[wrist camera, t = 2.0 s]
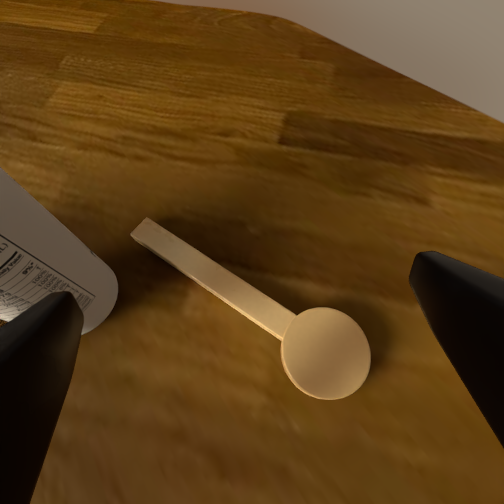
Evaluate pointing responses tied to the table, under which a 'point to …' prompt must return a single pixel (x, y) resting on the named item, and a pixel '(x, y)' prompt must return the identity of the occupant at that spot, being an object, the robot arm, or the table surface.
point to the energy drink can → (47, 260)
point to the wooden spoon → (277, 321)
